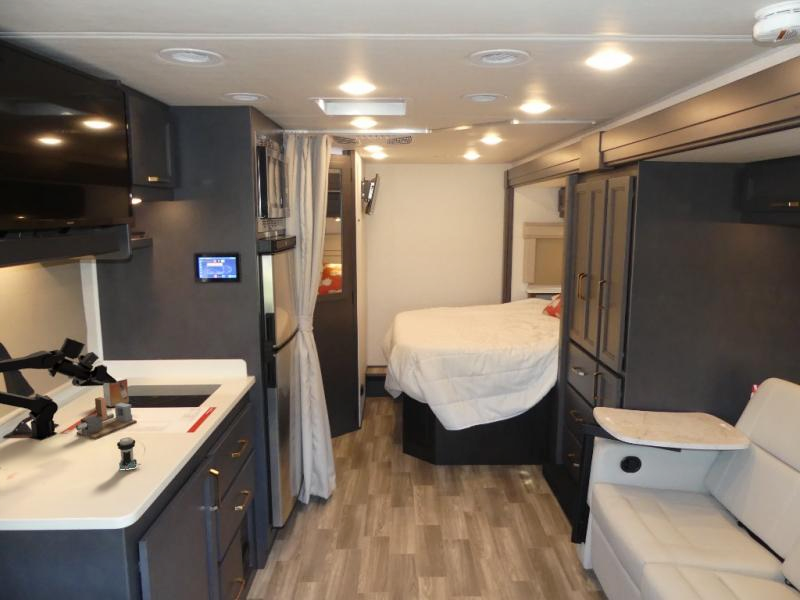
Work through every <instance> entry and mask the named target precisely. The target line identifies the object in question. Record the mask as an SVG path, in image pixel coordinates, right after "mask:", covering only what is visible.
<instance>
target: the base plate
mask: <svg viewBox="0 0 800 600" xmlns="http://www.w3.org/2000/svg"><path fill="white" fill-rule="evenodd" d="M137 423H138V421H137V420H136V419H133V420H130V421H128V422H123V421H119V420H116V416H114V418H112V419H109V420H106V421H104V422H102V427H103V430H102V431H100V432H97V433H95V434H92V435H85V434H82V430H80V431H78V430H77V431H76V435H77V436H81V437H83V438H88V439H90V440H91V439H92V440H98V439H101V438H103V437H106V436H108V435H110V434H112V433H115V432H118V431H121V430H122V429H123V430H124V429H125V428H127V427H128V428H129V427H130V426H132V425H136V424H137Z"/></svg>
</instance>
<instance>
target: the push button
mask: <svg viewBox="0 0 800 600" xmlns="http://www.w3.org/2000/svg"><path fill="white" fill-rule="evenodd" d="M135 445H136V440H135V439H133V438H132V437H131V436H130V437H129V436H128V437H127V436H126V437H124V438H120V440H119V442H117V443H116V446H117V449H118V450H119V451H120V461H119V462H118V464H119V465H118V466H119V468H118V469H119V470H120V469H125V470H126V469H129V468H135V467H136V466H142V463H138V461H137V459H136V458H134V448H135ZM125 470H124V471H125Z"/></svg>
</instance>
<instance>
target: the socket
mask: <svg viewBox="0 0 800 600" xmlns="http://www.w3.org/2000/svg"><path fill="white" fill-rule="evenodd" d="M131 408H132V404H130V403H119V404H116V405H115V406H114V413H115V414H114V416H115V417H116V420H119V421H123V422H128V421H130V420H134V419H133V414H132V409H131Z"/></svg>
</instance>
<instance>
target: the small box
mask: <svg viewBox="0 0 800 600" xmlns="http://www.w3.org/2000/svg"><path fill="white" fill-rule="evenodd" d="M113 378H114V379H115V380H117V381H116V383H104V385H103V386H102V392H103V393H102V394H103V398H106V407H110V408H112V407H115V405H116V404H119V403H126V404H129V388H128V378H126V377H124V376H118V377H113Z"/></svg>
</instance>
